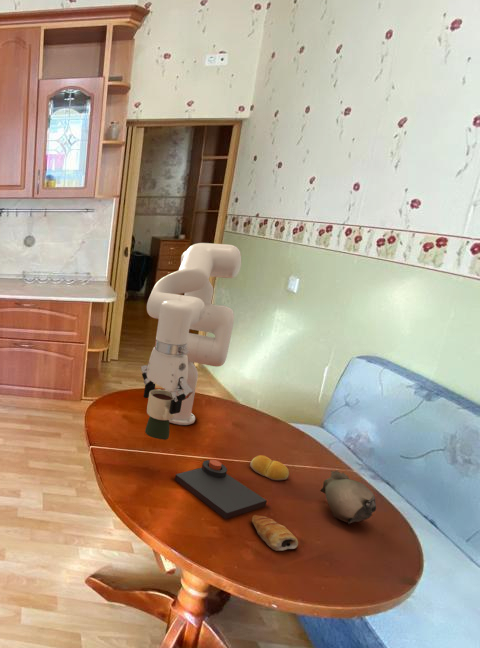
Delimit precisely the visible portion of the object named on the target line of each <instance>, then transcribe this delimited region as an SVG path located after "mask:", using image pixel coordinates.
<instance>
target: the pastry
mask: <svg viewBox="0 0 480 648" xmlns="http://www.w3.org/2000/svg"><path fill="white" fill-rule="evenodd" d="M251 522H252V524H253V526H254V529H255V530H256V532H257V535H258V536H259V537H260V538H261V540H262V541H264V542H265V544H266V545H267V546H268V547H269V548H271V549H272V550H274V551H275V552H276V551H277V552H281V551H286V550H294V549H296V548H297V547H298V545H299V541H298V538H297V537H296V536H295V535H294V534H293V533H292V532H291V531H290V530H289V529H288V528H287V527H286V526H285V525H283V524H280V523H279V522H277V521H275V520H274V519H272V518H270V517H268V516H265V515H256V514H254V515H253V516H252V518H251Z"/></svg>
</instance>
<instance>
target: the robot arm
mask: <svg viewBox="0 0 480 648" xmlns="http://www.w3.org/2000/svg"><path fill="white" fill-rule="evenodd" d="M241 268H242V254H241V251H240V249H239V248H238V247H237V246H236V245H232V244H225V243H211V242H210V243H209V242H198V243H194V244H192V245H190V246H189V247H188V248H187V249H186V250H185V251H184V252H183V253H182V254H181V256H180V266H179V268H178V270H176V271H173V272H171V273H169V274H167V275H165V276H163V277H161V278H160V279H159V280H158V281H157V282H156V283H155V284H154V286H153V288H152V290H151V293H150V294H149V297H148V299H147V303H146V313H147V314H148V315H149V317H150V318H153V319H156V320H158V321H157V327H156V335H155V343H154V347H153V348H152V351H151V352H150V355H149V359H148V363H147V364H144V365H141V366H140V370H141V373H142V374H141V376H142V379H143V384H144V391H143V398H144V399H148V398H149V392H150V391H151V390H154V389H156V385H157V386H159V387H161V388H162V389H163V390H166V391H170V392H171V394H172V397H173V400H171V405H170V411H169V412H170V414H175V415H174V417H173V418H172V419H170V420H169V424H170V423H171V424H174V425H179V426H188V425H192V424H194V423H195V421H196V416H195V415H194V414H193V412H192V411H193V406H194V401H195V394H196V389H197V384H198V380H199V373H198V372H199V371H198V369H197V368H196V365H195V364H200V365H205V366H210V367H222V366H223V365H224V364H225V363H226V361H227V358H228V353H229V348H230V342H231V338H232V333H233V328H234V322H235V313H234V311H233V309H232V308H230V307H229V306H226V305H219V304H212V299H213V295H214V287H213V285H212V283H211V281H210V278H211V277H212V278H221V279H234V278H235V277H237V276H238V275H239V273H240V271H241ZM183 294H184V295H183ZM190 330H192V331H198V332H204V333H209V334H213V335H214V336H213V337H212V336H209V335H208V336H207V335H201V334H197V333H192V332H190Z"/></svg>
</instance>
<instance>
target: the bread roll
mask: <svg viewBox="0 0 480 648" xmlns="http://www.w3.org/2000/svg"><path fill="white" fill-rule="evenodd" d="M249 467H250V468H251V470H253V471H254V472H255V473H256V474H258V475H260V476H263V477H266V478H267V479H270V480H272V481H284V480H287V479H288V478H289V475H290V472H289V469H288V467H287V466H286V465H285V464H283V463H282V462H280V461H278V460H272V459H271V458H269V457H268V456H266V455H261V454H260V455H256V456H255V457H253V458H252V459H251V461H250V463H249Z"/></svg>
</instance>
